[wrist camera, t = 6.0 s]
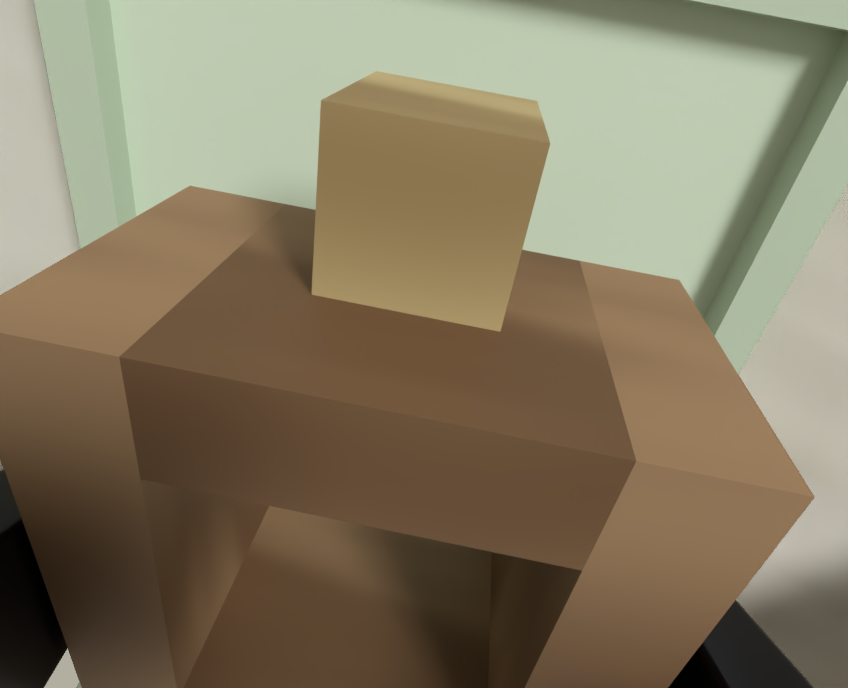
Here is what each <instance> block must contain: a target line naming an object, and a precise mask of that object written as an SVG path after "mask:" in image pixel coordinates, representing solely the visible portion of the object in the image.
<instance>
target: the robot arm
mask: <svg viewBox="0 0 848 688" xmlns="http://www.w3.org/2000/svg"><path fill="white" fill-rule="evenodd" d="M67 648H68V647H67V645H66V642H65V639H64V636H63V633H62V631H61V628H60V625H59V622H58V619H57V616H56V614H55V611H54V608H53V605H52V602H51V600H50V597H49V594H48V591H47V588H46V586H45V583H44V580H43V577H42V574H41V571H40V569H39V566H38V563H37V560H36V557H35V555H34V552H33V549H32V546H31V543H30V541H29V538H28V535H27V532H26V529H25V527H24V524H23V521H22V518H21V515H20V512H19V510H18V507H17V504H16V501H15V498H14V496H13V493H12V490H11V487H10V484H9V482H8V479H7V476H6V473H5V470H4V469H3V470H1V471H0V688H44V686H45V685H46V683H47V681H48V680H49V678H50V676H51V675H52V673H53V671H54V670H55V668H56V666H57V665H58V663H59V661H60V660H61V658H62V656H63V655H64V653H65V651H66V650H67ZM668 688H814V687H813V686H812V685H811V684H810V683H809V682H808V681H807V680H806V678H805V677H804V676H803V675H802V674H801V673H800V672H799V670H798V669H797V668H796V667H795V666H794V665H793V664H792V663H791V661H790V660H789V659H788V658H787V657H786V656H785V655H784V654H783V652H782V651H781V650H780V649H779V648H778V647H777V646H776V645H775V643H774V642H773V641H772V640H771V639H770V638H769V637H768V636H767V634H766V633H765V632H764V631H763V630H762V629H761V628H760V626H759V625H758V624H757V623H756V622H755V621H754V620H753V619H752V617H751V616H750V615H749V614H748V613H747V612H746V611H745V610H744V608H743V607H742V606H741V605H740V604H739V603H738V602H737V601H736V600H735V601H734V603H733V604H732V605H731V607H730V608H729V609H728V610H727V612H726V613H725V614H724V616H723V617H722V618H721V620H720V621H719V622H718V623H717V625H716V626H715V627H714V629H713V630H712V631H711V632H710V634H709V635H708V636H707V638H706V639H705V640H704V642H703V643H702V644H701V645H700V647H699V648H698V649H697V651H696V652H695V653H694V655H693V656H692V657H691V658H690V660H689V661H688V662H687V664H686V665H685V666H684V668H683V669H682V670H681V671H680V673H679V674H678V675H677V677H676V678H675V679H674V681H673V682H672V683H671V684H670V686H669V687H668Z"/></svg>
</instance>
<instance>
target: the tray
mask: <svg viewBox="0 0 848 688" xmlns="http://www.w3.org/2000/svg"><path fill="white" fill-rule="evenodd" d="M34 5H35V10H36V16H37V21H38V26H39V32H40V37H41V42H42V47H43V53H44V58H45V63H46V69H47V74H48V79H49V85H50V90H51V95H52V101H53V106H54V111H55V117H56V122H57V127H58V132H59V138H60V143H61V148H62V154H63V159H64V164H65V170H66V175H67V180H68V186H69V191H70V196H71V202H72V207H73V212H74V217H75V223H76V228H77V233H78V239H79V244H80V249H81V248H83V247H85V246H86V245H88V244H90V243H92V242H93V241H95V240H97V239H98V238H100V237H102V236H104V235H105V234H107V233H109V232H111V231H112V230H114V229H116V228H117V227H119V226H121V225H123V224H124V223H126V222H128V221H130V220H131V219H133V218H135V217H136V216H138V215H140V214H142V213H143V212H145V211H147V210H149V209H150V208H152V207H154V206H155V205H157V204H159V203H161V202H162V201H164V200H166V199H167V198H169V197H171V196H173V195H174V194H176V193H178V192H180V191H181V190H183V189H185V188H186V187H188V186H195V187H200V188H205V189H210V190H215V191H221V192H226V193H231V194H236V195H241V196H246V197H252V198H257V199H262V200H267V201H272V202H278V203H283V204H288V205H293V206H298V207H303V208H309V209H314V210H316V192H317V171H318V150H319V130H320V109H321V100H322V99H324V98H326V97H328V96H330V95H332V94H334V93H336V92H338V91H339V90H341V89H343V88H345V87H347V86H349V85H351V84H353V83H355V82H356V81H358V80H360V79H362V78H364V77H366V76H368V75H370V74H372V73H374V72H375V71H378V72H384V73H389V74H395V75H400V76H405V77H411V78H416V79H422V80H427V81H432V82H438V83H443V84H448V85H454V86H459V87H465V88H470V89H475V90H481V91H486V92H492V93H497V94H502V95H508V96H513V97H518V98H524V99H529V100H535V101H537V102H538V105H539V108H540V112H541V115H542V118H543V121H544V124H545V128H546V131H547V134H548V137H549V140H550V147H549V151H548V154H547V158H546V162H545V166H544V169H543V173H542V177H541V181H540V184H539V188H538V192H537V196H536V199H535V203H534V207H533V211H532V214H531V218H530V222H529V226H528V230H527V233H526V237H525V241H524V245H523V248H522V250H526V251H532V252H537V253H542V254H547V255H552V256H558V257H563V258H568V259H573V260H578V261H583V262H589V263H594V264H599V265H604V266H609V267H615V268H620V269H625V270H630V271H635V272H641V273H646V274H651V275H656V276H661V277H666V278H672V279H677V280H680V282H681V284H682V285H683V287H684V288H685V290H686V292H687V293H688V295H689V296H690V298H691V300H692V301H693V303H694V304H695V306H696V308H697V309H698V311H699V312H700V314H701V316H702V317H703V319H704V320H705V322H706V324H707V325H708V327H709V328H710V330H711V332H712V333H713V335H714V336H715V338H716V340H717V341H718V343H719V344H720V346H721V348H722V349H723V351H724V353H725V354H726V356H727V357H728V359H729V361H730V362H731V364H732V365H733V367H734V369H735V370H736V372H737V373H738V375H739V373H740V371H741V370H742V368H743V366H744V364H745V363H746V361H747V359H748V357H749V356H750V354H751V352H752V350H753V349H754V347H755V345H756V343H757V342H758V340H759V338H760V337H761V335H762V333H763V331H764V330H765V328H766V326H767V324H768V323H769V321H770V319H771V317H772V316H773V314H774V312H775V310H776V309H777V307H778V305H779V303H780V302H781V300H782V298H783V296H784V295H785V293H786V291H787V290H788V288H789V286H790V284H791V283H792V281H793V279H794V277H795V276H796V274H797V272H798V270H799V269H800V267H801V265H802V263H803V262H804V260H805V258H806V256H807V255H808V253H809V251H810V250H811V248H812V246H813V244H814V243H815V241H816V239H817V237H818V236H819V234H820V232H821V230H822V229H823V227H824V225H825V223H826V222H827V220H828V218H829V216H830V215H831V213H832V211H833V209H834V208H835V206H836V204H837V203H838V201H839V199H840V197H841V196H842V194H843V192H844V190H845V189H846V187H847V185H848V0H34Z"/></svg>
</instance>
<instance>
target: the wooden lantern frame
mask: <svg viewBox="0 0 848 688" xmlns="http://www.w3.org/2000/svg"><path fill="white" fill-rule="evenodd" d="M549 147H550V140H549V137H548V134H547V131H546V128H545V124H544V121H543V118H542V115H541V112H540V108H539V105H538V102H537V101H535V100H529V99H524V98H518V97H513V96H508V95H502V94H497V93H492V92H486V91H481V90H475V89H470V88H465V87H459V86H454V85H448V84H443V83H438V82H432V81H427V80H422V79H416V78H411V77H405V76H400V75H395V74H389V73H384V72H378V71H375V72H374V73H372V74H370V75H368V76H366V77H364V78H362V79H360V80H358V81H356V82H355V83H353V84H351V85H349V86H347V87H345V88H343V89H341V90H339V91H338V92H336V93H334V94H332V95H330V96H328V97H326V98H324V99H322V100H321V109H320V130H319V150H318V171H317V192H316V210H314V209H309V208H303V207H298V206H293V205H288V204H283V203H278V202H272V201H267V200H262V199H257V198H252V197H246V196H241V195H236V194H231V193H226V192H221V191H215V190H210V189H205V188H200V187H195V186H188V187H186V188H185V189H183V190H181V191H180V192H178V193H176V194H174V195H173V196H171V197H169V198H167V199H166V200H164V201H162V202H161V203H159V204H157V205H155V206H154V207H152V208H150V209H149V210H147V211H145V212H143V213H142V214H140V215H138V216H136V217H135V218H133V219H131V220H130V221H128V222H126V223H124V224H123V225H121V226H119V227H117V228H116V229H114V230H112V231H111V232H109V233H107V234H105V235H104V236H102V237H100V238H98V239H97V240H95V241H93V242H92V243H90V244H88V245H86V246H85V247H83V248H81V249H79V250H78V251H76V252H74V253H73V254H71V255H69V256H67V257H66V258H64V259H62V260H60V261H59V262H57V263H55V264H54V265H52V266H50V267H48V268H47V269H45V270H43V271H41V272H40V273H38V274H36V275H35V276H33V277H31V278H29V279H28V280H26V281H24V282H22V283H21V284H19V285H17V286H16V287H14V288H12V289H10V290H9V291H7V292H5V293H3V294H2V295H0V459H1V462H2V465H3V467H4V470H5V473H6V476H7V479H8V482H9V484H10V487H11V490H12V493H13V496H14V498H15V501H16V504H17V507H18V510H19V512H20V515H21V518H22V521H23V524H24V527H25V529H26V532H27V535H28V538H29V541H30V543H31V546H32V549H33V552H34V555H35V557H36V560H37V563H38V566H39V569H40V571H41V574H42V577H43V580H44V583H45V586H46V588H47V591H48V594H49V597H50V600H51V602H52V605H53V608H54V611H55V614H56V616H57V619H58V622H59V625H60V628H61V631H62V633H63V636H64V639H65V642H66V645H67V647H68V650H69V653H70V656H71V659H72V661H73V664H74V667H75V670H76V673H77V675H78V678H79V681H80V684H81V687H82V688H668V687H669V686H670V684H671V683H672V682H673V681H674V679H675V678H676V677H677V675H678V674H679V673H680V671H681V670H682V669H683V668H684V666H685V665H686V664H687V662H688V661H689V660H690V658H691V657H692V656H693V655H694V653H695V652H696V651H697V649H698V648H699V647H700V645H701V644H702V643H703V642H704V640H705V639H706V638H707V636H708V635H709V634H710V632H711V631H712V630H713V629H714V627H715V626H716V625H717V623H718V622H719V621H720V620H721V618H722V617H723V616H724V614H725V613H726V612H727V610H728V609H729V608H730V607H731V605H732V604H733V603H734V601H735V600H736V599H737V597H738V596H739V595H740V594H741V592H742V591H743V590H744V588H745V587H746V586H747V584H748V583H749V582H750V581H751V579H752V578H753V577H754V575H755V574H756V573H757V571H758V570H759V569H760V568H761V566H762V565H763V564H764V562H765V561H766V560H767V558H768V557H769V556H770V555H771V553H772V552H773V551H774V549H775V548H776V547H777V545H778V544H779V543H780V542H781V540H782V539H783V538H784V536H785V535H786V534H787V532H788V531H789V530H790V529H791V527H792V526H793V525H794V523H795V522H796V521H797V519H798V518H799V517H800V516H801V514H802V513H803V512H804V510H805V509H806V508H807V506H808V505H809V504H810V503H811V501H812V500H813V499H814V495H813V494H812V492H811V491H810V489H809V487H808V486H807V484H806V483H805V481H804V479H803V478H802V476H801V474H800V473H799V471H798V470H797V468H796V466H795V465H794V463H793V462H792V460H791V458H790V457H789V455H788V454H787V452H786V450H785V449H784V447H783V446H782V444H781V442H780V441H779V439H778V438H777V436H776V434H775V433H774V431H773V430H772V428H771V426H770V425H769V423H768V422H767V420H766V418H765V417H764V415H763V414H762V412H761V410H760V409H759V407H758V405H757V404H756V402H755V401H754V399H753V397H752V396H751V394H750V393H749V391H748V389H747V388H746V386H745V385H744V383H743V381H742V380H741V378H740V377H739V375H738V373H737V372H736V370H735V369H734V367H733V365H732V364H731V362H730V361H729V359H728V357H727V356H726V354H725V353H724V351H723V349H722V348H721V346H720V344H719V343H718V341H717V340H716V338H715V336H714V335H713V333H712V332H711V330H710V328H709V327H708V325H707V324H706V322H705V320H704V319H703V317H702V316H701V314H700V312H699V311H698V309H697V308H696V306H695V304H694V303H693V301H692V300H691V298H690V296H689V295H688V293H687V292H686V290H685V288H684V287H683V285H682V284H681V282H680V280H677V279H672V278H666V277H661V276H656V275H651V274H646V273H641V272H635V271H630V270H625V269H620V268H615V267H609V266H604V265H599V264H594V263H589V262H583V261H578V260H573V259H568V258H563V257H558V256H552V255H547V254H542V253H537V252H532V251H526V250H522V248H523V245H524V241H525V237H526V233H527V230H528V226H529V222H530V218H531V214H532V211H533V207H534V203H535V199H536V196H537V192H538V188H539V184H540V181H541V177H542V173H543V169H544V166H545V162H546V158H547V154H548V151H549Z"/></svg>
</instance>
